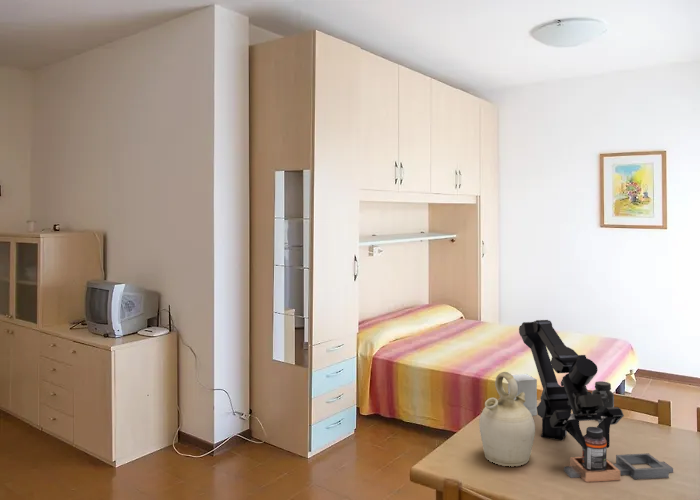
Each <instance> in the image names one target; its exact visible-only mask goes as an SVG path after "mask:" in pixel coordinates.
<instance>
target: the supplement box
mask: <svg viewBox="0 0 700 500" xmlns="http://www.w3.org/2000/svg"><path fill="white" fill-rule="evenodd" d="M511 375H512V376H513V377H514V379H515V380H516V383H517V387H518V392H517V395H516V396H518V395H519V394H520V393H521V392H523V393H525V400H526V401H525V402H524V403H523V405H524V406H525V407H526V408H527V409H528V410H529V411H530V413H531V415H532V417H533V416H538V413H537V406H538V394H537V393H538V391H537V390H538V389H537V387H538V383H537V382H538V379H537V378H534V377H533V376H531V375H529V374H528V373H519V374H511ZM507 385H508V386H507V389H508V390H507V391H508V393H507V394H510V386H509V383H508V382H507ZM515 399H516V397H515V398H514V400H515Z"/></svg>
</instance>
